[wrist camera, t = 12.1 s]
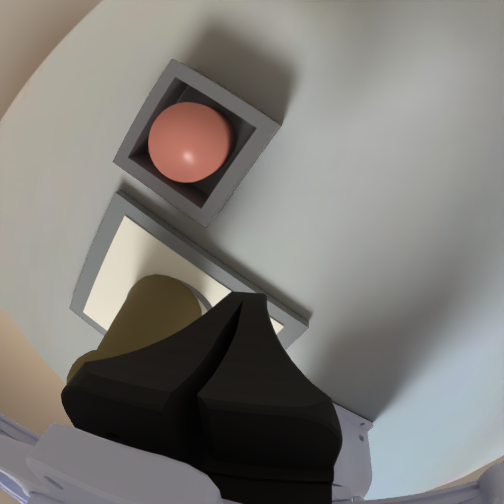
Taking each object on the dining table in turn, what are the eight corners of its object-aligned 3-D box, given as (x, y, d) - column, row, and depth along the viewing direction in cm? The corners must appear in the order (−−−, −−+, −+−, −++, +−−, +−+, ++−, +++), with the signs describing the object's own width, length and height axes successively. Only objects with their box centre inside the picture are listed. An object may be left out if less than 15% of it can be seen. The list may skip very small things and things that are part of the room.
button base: (281, 125, 18) (278, 124, 15) (219, 211, 21) (205, 228, 18) (191, 68, 18) (172, 58, 14) (138, 155, 20) (112, 161, 17)
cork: (130, 327, 25) (62, 421, 15) (131, 265, 23) (40, 354, 13) (197, 349, 25) (149, 459, 15) (207, 286, 22) (145, 402, 12)
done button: (249, 130, 18) (242, 130, 15) (209, 189, 19) (196, 198, 17) (190, 92, 17) (175, 87, 15) (153, 150, 19) (135, 155, 17)
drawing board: (308, 321, 23) (308, 329, 23) (219, 403, 28) (217, 410, 28) (120, 189, 22) (114, 192, 21) (73, 304, 27) (68, 309, 26)
